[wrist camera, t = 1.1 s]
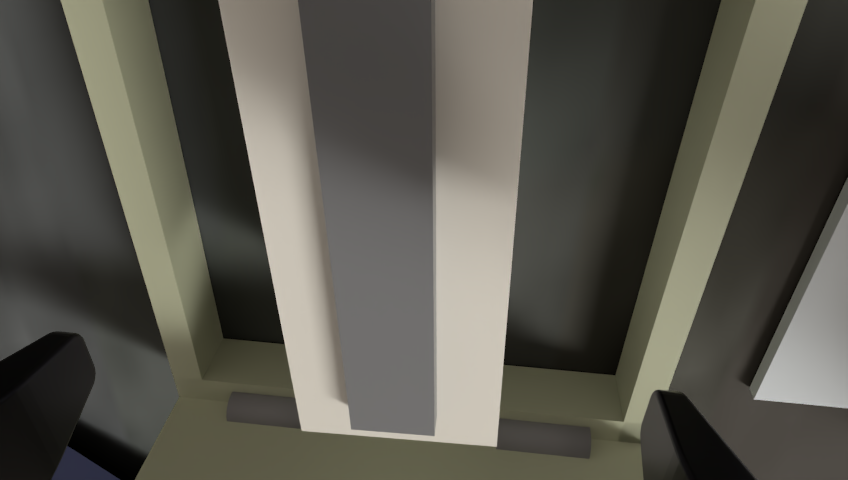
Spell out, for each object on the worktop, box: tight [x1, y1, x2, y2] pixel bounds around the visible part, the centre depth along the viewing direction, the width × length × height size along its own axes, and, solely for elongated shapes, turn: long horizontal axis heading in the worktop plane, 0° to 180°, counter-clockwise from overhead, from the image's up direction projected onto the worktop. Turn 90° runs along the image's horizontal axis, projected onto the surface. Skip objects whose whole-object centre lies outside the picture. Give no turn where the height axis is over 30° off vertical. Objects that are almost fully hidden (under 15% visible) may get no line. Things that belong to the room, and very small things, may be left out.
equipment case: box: [61, 0, 808, 480], centre depth 15 cm, size 16×21×8 cm
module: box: [218, 0, 533, 447], centre depth 15 cm, size 5×12×7 cm, turn 1°
